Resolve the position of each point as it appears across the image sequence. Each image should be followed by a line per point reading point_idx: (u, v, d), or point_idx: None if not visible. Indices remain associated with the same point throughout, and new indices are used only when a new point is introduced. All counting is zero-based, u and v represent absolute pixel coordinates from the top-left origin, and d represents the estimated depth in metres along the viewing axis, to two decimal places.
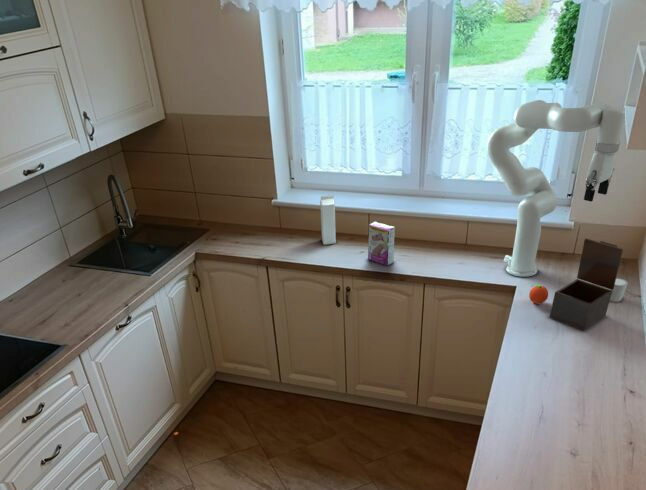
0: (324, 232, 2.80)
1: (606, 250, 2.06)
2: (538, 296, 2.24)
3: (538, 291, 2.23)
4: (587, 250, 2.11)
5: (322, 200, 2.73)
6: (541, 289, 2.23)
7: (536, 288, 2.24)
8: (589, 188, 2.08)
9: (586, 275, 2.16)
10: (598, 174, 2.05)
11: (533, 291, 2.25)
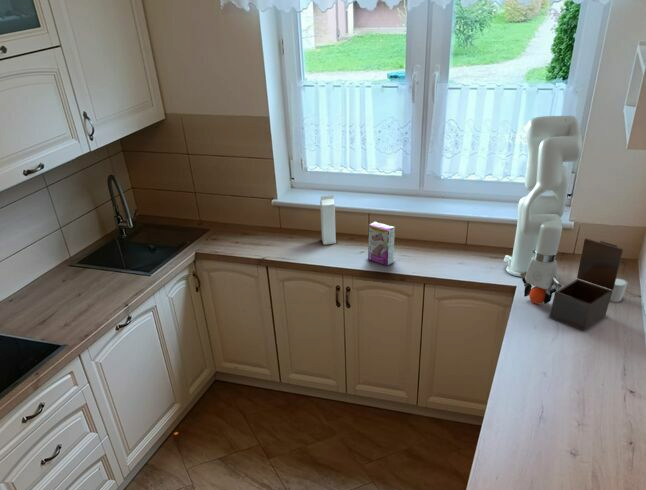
0: (324, 232, 2.80)
1: (606, 250, 2.06)
2: (538, 296, 2.24)
3: (538, 291, 2.23)
4: (587, 250, 2.11)
5: (322, 200, 2.73)
6: (541, 289, 2.23)
7: (536, 288, 2.24)
8: (553, 292, 2.22)
9: (586, 275, 2.16)
10: (555, 278, 2.20)
11: (533, 291, 2.25)
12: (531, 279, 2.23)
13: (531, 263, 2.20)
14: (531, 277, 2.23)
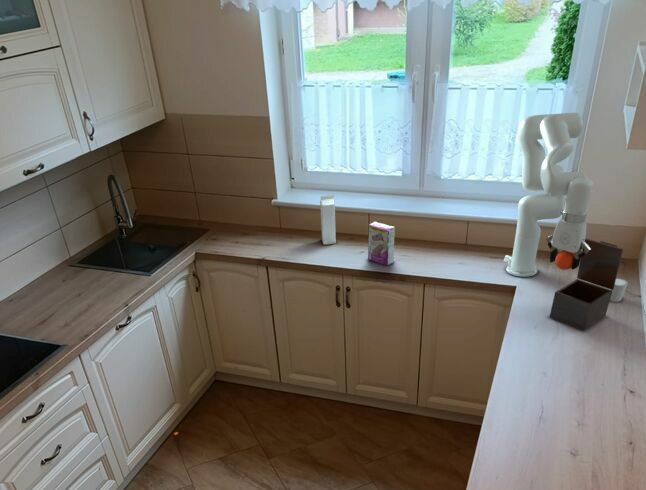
0: (324, 232, 2.80)
1: (606, 250, 2.06)
2: (565, 260, 2.08)
3: (565, 255, 2.08)
4: None
5: (322, 200, 2.73)
6: (568, 253, 2.08)
7: (563, 252, 2.09)
8: (582, 256, 2.06)
9: (586, 275, 2.16)
10: (584, 241, 2.05)
11: (560, 256, 2.09)
12: (558, 242, 2.08)
13: (558, 225, 2.05)
14: (558, 240, 2.07)
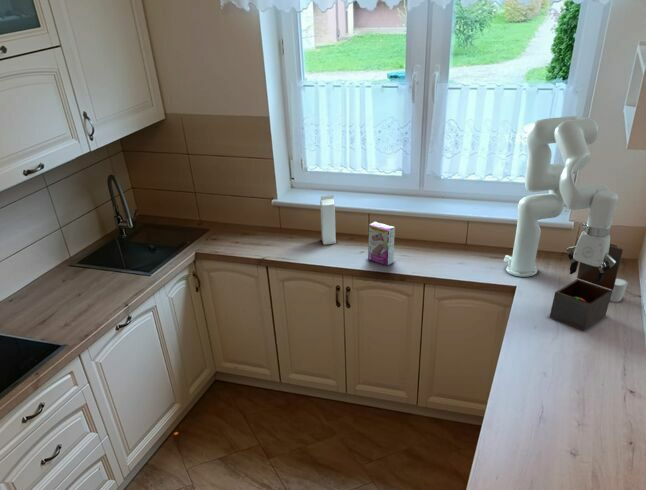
0: (324, 232, 2.80)
1: None
2: None
3: None
4: None
5: (322, 200, 2.73)
6: None
7: None
8: None
9: (586, 275, 2.16)
10: (607, 254, 2.00)
11: None
12: (580, 256, 2.03)
13: (581, 238, 2.00)
14: (580, 254, 2.03)
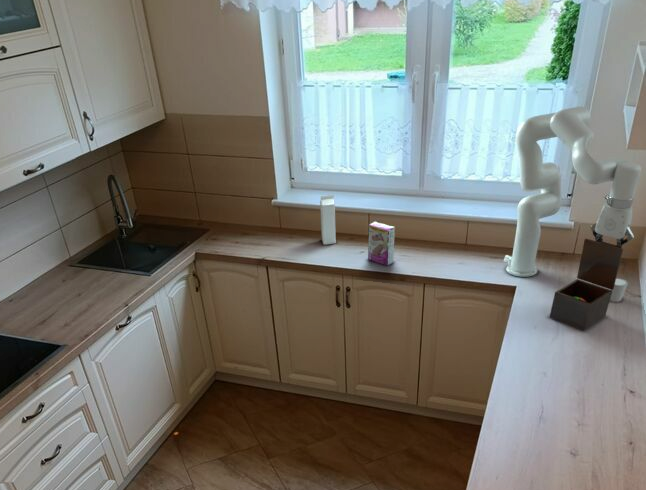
0: (324, 232, 2.80)
1: (606, 250, 2.06)
2: None
3: None
4: (587, 250, 2.11)
5: (322, 200, 2.73)
6: None
7: None
8: (623, 243, 2.04)
9: (586, 275, 2.16)
10: (629, 227, 2.02)
11: None
12: (602, 229, 2.05)
13: (603, 211, 2.02)
14: (602, 226, 2.04)
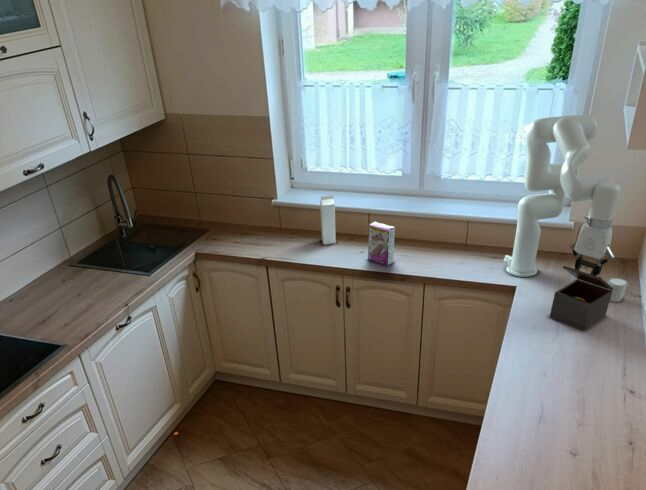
0: (324, 232, 2.80)
1: (586, 276, 2.05)
2: None
3: None
4: (571, 272, 2.10)
5: (322, 200, 2.73)
6: None
7: None
8: (604, 263, 2.01)
9: (583, 280, 2.16)
10: (609, 246, 1.98)
11: None
12: (582, 248, 2.01)
13: (583, 230, 1.99)
14: (582, 246, 2.01)
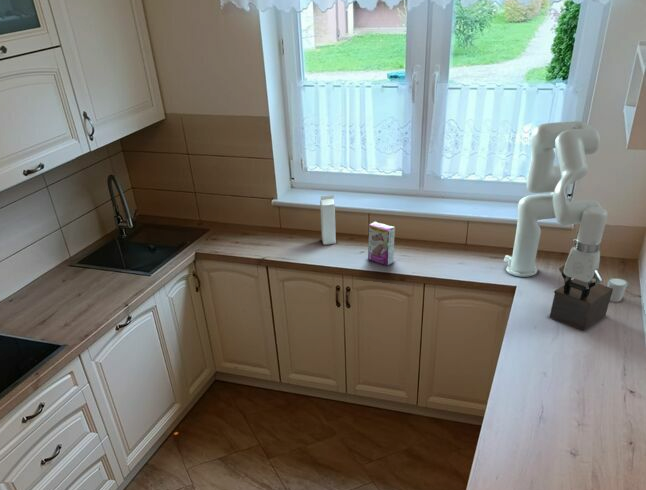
0: (324, 232, 2.80)
1: None
2: None
3: None
4: None
5: (322, 200, 2.73)
6: None
7: None
8: (592, 286, 2.03)
9: None
10: (597, 270, 2.00)
11: None
12: (570, 271, 2.03)
13: (571, 254, 2.01)
14: (570, 269, 2.03)
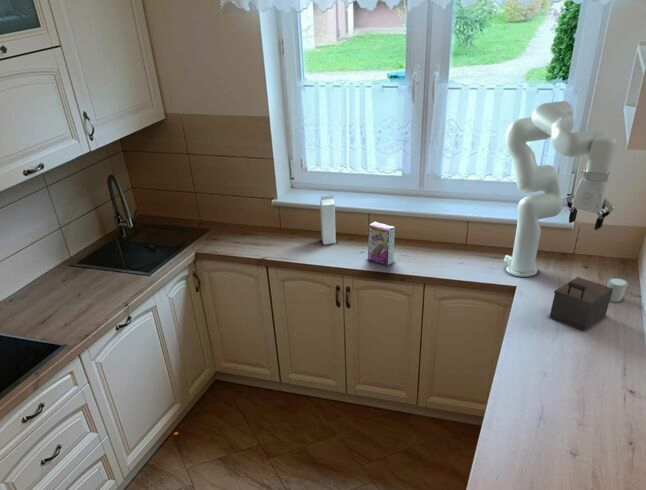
0: (324, 232, 2.80)
1: None
2: None
3: None
4: None
5: (322, 200, 2.73)
6: None
7: None
8: (605, 216, 2.03)
9: None
10: None
11: None
12: (579, 203, 2.05)
13: (580, 184, 2.02)
14: (579, 200, 2.04)
